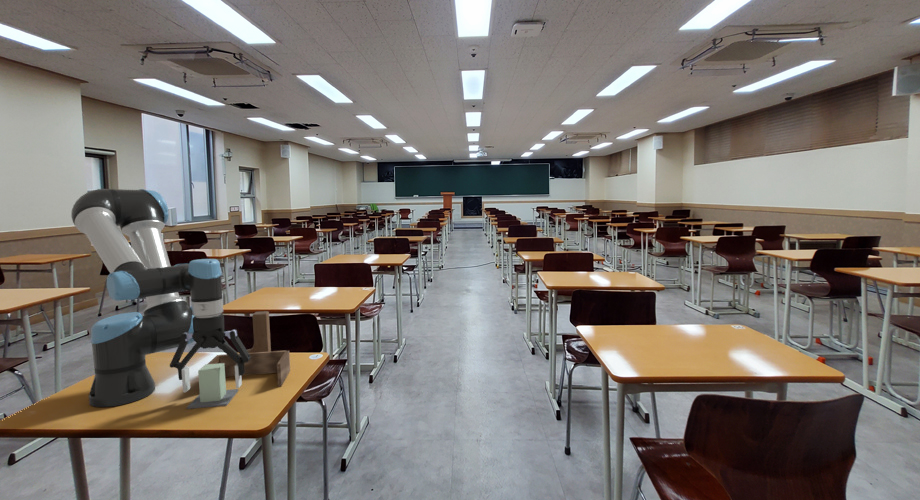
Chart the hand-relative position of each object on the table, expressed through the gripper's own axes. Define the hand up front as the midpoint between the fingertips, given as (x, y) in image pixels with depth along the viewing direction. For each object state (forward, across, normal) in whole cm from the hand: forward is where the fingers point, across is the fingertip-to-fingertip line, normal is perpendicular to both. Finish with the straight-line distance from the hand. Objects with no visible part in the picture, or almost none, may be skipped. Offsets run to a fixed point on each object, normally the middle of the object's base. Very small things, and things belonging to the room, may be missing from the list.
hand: (213, 388), depth 122 cm
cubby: (+3, +6, +12) cm, 14 cm away
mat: (+3, 0, 0) cm, 3 cm away
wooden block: (+3, +4, +28) cm, 28 cm away
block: (+3, 0, 0) cm, 3 cm away
